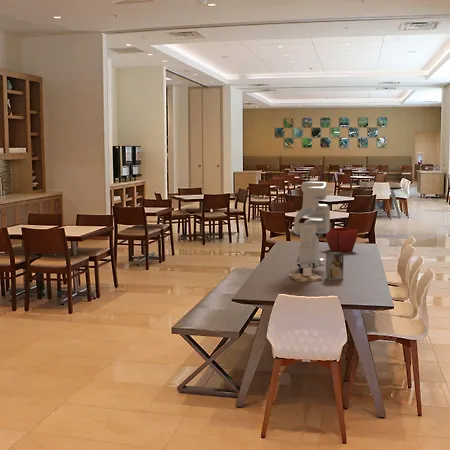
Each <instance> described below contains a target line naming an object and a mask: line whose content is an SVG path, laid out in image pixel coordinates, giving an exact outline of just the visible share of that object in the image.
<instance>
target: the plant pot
mask: <svg viewBox="0 0 450 450" xmlns="http://www.w3.org/2000/svg"><path fill="white" fill-rule="evenodd" d="M358 233H359V229H355V228H349V227H344V226H342V227H341V226H340V227H330V230H329V232H328V233H324V234H325V239H326V242H327V245H328V248H329V250H330V251H332V250H333V251H332V252H335V253H336V252H339V253H344V252H345V253H346V252H352V251H353V250H354V248H355V245H356V241H357V238H358Z"/></svg>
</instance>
